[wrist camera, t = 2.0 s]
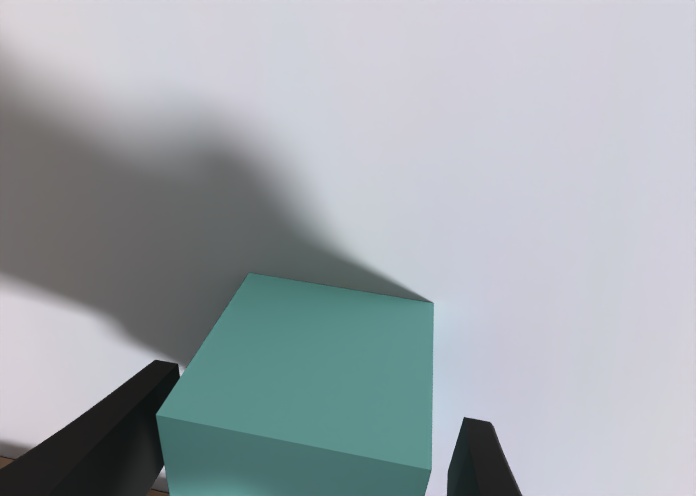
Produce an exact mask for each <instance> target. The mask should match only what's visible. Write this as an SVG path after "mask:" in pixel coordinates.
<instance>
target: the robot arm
mask: <svg viewBox="0 0 696 496" xmlns="http://www.w3.org/2000/svg"><path fill="white" fill-rule="evenodd" d="M179 379H180V374H179V367H178V364H176V363H171V362H165V361H160V360H154V361H153V362H152V363H150V364H149V365H148V366H146V367H145V368H144V369H142V370H141V371H140V372H138V373H137V374H136V375H134V376H133V377H132V378H130V379H129V380H128V381H126V382H125V383H124V384H123V385H121V386H120V387H119V388H117V389H116V390H115V391H113V392H112V393H111V394H109V395H108V396H107V397H105V398H104V399H103V400H101V401H100V402H99V403H97V404H96V405H95V406H93V407H92V408H90V409H89V410H88V411H86V412H85V413H84V414H82V415H81V416H80V417H78V418H77V419H75V420H74V421H73V422H71V423H70V424H68V425H67V426H66V427H64V428H63V429H61V430H60V431H58V432H57V433H55V434H54V435H52V436H51V437H49V438H48V439H46V440H45V441H43V442H42V443H40V444H39V445H38V446H36V447H35V448H33V449H32V450H30V451H28V452H27V453H25V454H24V455H22V456H21V457H19V458H17V459H16V460H14V461H13V462H11V463H9V464H8V465H6V466H5V467H3V468H1V469H0V496H146V495H147V493H148V492H149V490H150V488H151V487H152V485H153V483H154V482H155V480H156V478H157V476H158V475H159V473H160V471H161V470H162V468H163V466H164V459H163V454H162V448H161V442H160V436H159V430H158V425H157V419H156V414H157V412H158V411H159V409H160V408H161V406H162V405H163V403H164V402H165V400H166V399H167V397H168V395H169V394H170V392H171V391H172V389H173V388H174V386H175V385H176V383H177V382H178V380H179ZM447 496H522V494H521V492H520V490H519V487H518V485H517V483H516V481H515V479H514V476H513V474H512V472H511V469H510V467H509V465H508V462H507V460H506V458H505V455H504V453H503V450H502V448H501V445H500V443H499V440H498V437H497V435H496V432H495V429H494V426H493V425H492V424H491V423H490V422H487V421H482V420H477V419H471V418H466V417H464V419H463V422H462V426H461V429H460V432H459V436H458V439H457V442H456V446H455V449H454V452H453V456H452V459H451V462H450V466H449V469H448V482H447Z"/></svg>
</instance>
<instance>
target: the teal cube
mask: <svg viewBox="0 0 696 496" xmlns="http://www.w3.org/2000/svg"><path fill="white" fill-rule="evenodd" d="M433 314H434V303H430V302H424V301H418V300H412V299H406V298H400V297H394V296H388V295H382V294H376V293H370V292H364V291H357V290H351V289H345V288H339V287H333V286H327V285H321V284H315V283H309V282H303V281H297V280H291V279H284V278H278V277H272V276H266V275H260V274H254V273H249V274H248V275H247V277H246V278H245V280H244V281H243V283H242V284H241V286H240V287H239V289H238V290H237V292H236V293H235V295H234V296H233V298H232V300H231V301H230V303H229V304H228V306H227V307H226V309H225V310H224V312H223V313H222V315H221V316H220V318H219V319H218V321H217V322H216V324H215V325H214V327H213V328H212V330H211V331H210V333H209V335H208V336H207V338H206V339H205V341H204V342H203V344H202V345H201V347H200V348H199V350H198V351H197V353H196V354H195V356H194V357H193V359H192V360H191V362H190V363H189V365H188V367H187V368H186V370H185V371H184V373H183V374H182V376H181V377H180V379H179V380H178V382H177V383H176V385H175V386H174V388H173V389H172V391H171V392H170V394H169V395H168V397H167V399H166V400H165V402H164V403H163V405H162V406H161V408H160V409H159V411H158V412H157V414H156V419H157V425H158V430H159V436H160V442H161V448H162V454H163V459H164V465H165V471H166V477H167V482H168V488H169V494H170V496H425V492H426V489H427V485H428V481H429V477H430V474H431V470H432V392H433Z"/></svg>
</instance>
